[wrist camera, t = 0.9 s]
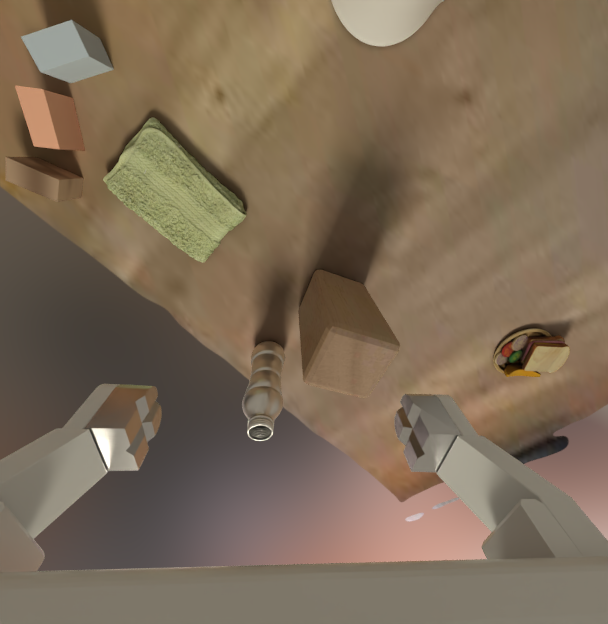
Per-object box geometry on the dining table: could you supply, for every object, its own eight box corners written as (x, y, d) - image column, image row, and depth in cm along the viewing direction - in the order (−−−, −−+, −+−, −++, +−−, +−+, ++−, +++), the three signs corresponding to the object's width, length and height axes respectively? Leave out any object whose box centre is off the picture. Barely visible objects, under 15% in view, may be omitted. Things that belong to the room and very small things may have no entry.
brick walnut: (36, 178, 40) (5, 180, 36) (37, 157, 39) (5, 156, 35) (81, 197, 42) (57, 201, 37) (83, 177, 40) (58, 179, 36)
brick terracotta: (48, 94, 36) (15, 85, 31) (73, 98, 36) (43, 89, 32) (62, 148, 38) (33, 146, 34) (85, 150, 39) (59, 149, 34)
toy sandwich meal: (506, 323, 57) (523, 336, 53) (563, 328, 59) (584, 340, 55) (481, 369, 63) (494, 384, 59) (533, 372, 65) (550, 387, 61)
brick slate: (71, 83, 35) (40, 72, 31) (55, 53, 34) (21, 36, 29) (114, 69, 35) (88, 56, 30) (100, 38, 33) (71, 19, 29)
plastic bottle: (287, 358, 59) (287, 443, 41) (257, 364, 59) (243, 450, 41) (281, 334, 55) (278, 414, 38) (248, 340, 56) (230, 421, 38)
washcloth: (154, 112, 37) (143, 108, 35) (252, 209, 44) (250, 213, 41) (106, 185, 41) (93, 187, 39) (203, 264, 48) (197, 271, 45)
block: (296, 312, 53) (300, 386, 36) (315, 265, 49) (330, 324, 31) (343, 326, 55) (368, 402, 38) (365, 283, 51) (405, 346, 33)
